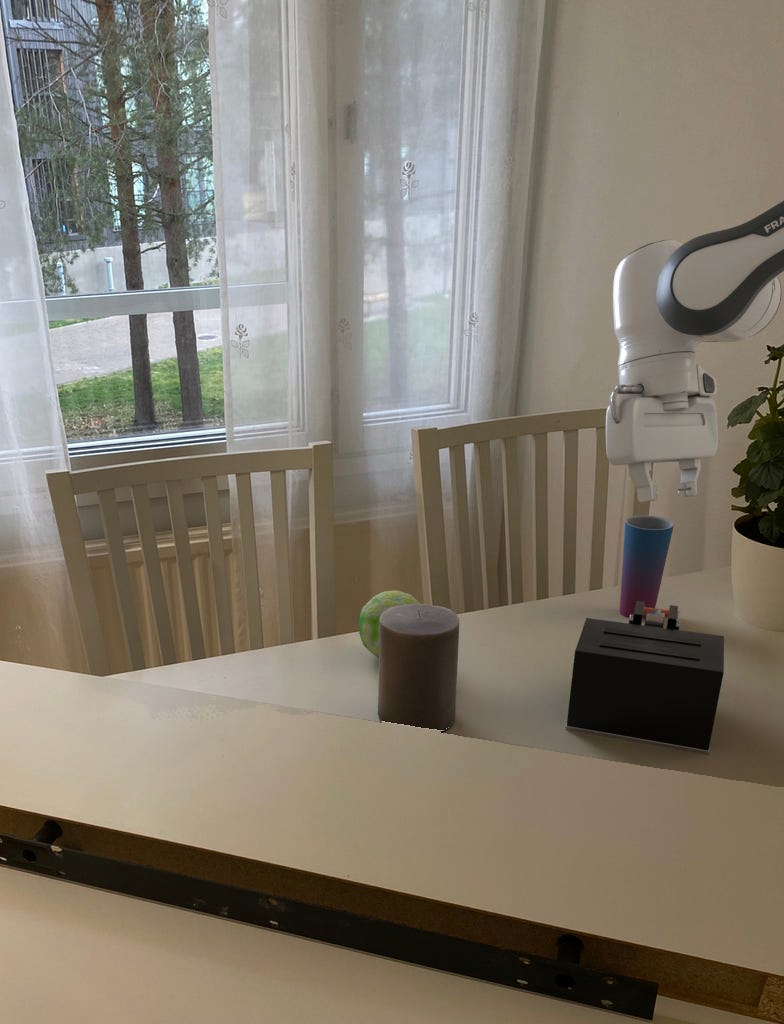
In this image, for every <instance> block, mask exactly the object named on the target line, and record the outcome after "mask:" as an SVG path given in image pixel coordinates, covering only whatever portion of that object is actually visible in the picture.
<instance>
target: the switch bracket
mask: <svg viewBox="0 0 784 1024" xmlns="http://www.w3.org/2000/svg"><path fill="white" fill-rule="evenodd" d="M644 606H645V602H642V601H637V603H636V607H635V611H634V615H633V614H630V618H628V623H629V624H637V625H643V620H642V619H643V613H644ZM668 610H669V614H668V618H667V622H666V627H665V628H667V629H674V630H680V628H681V621H682V620H678V619H677V613H678V611H679V605H672V604H669V608H668ZM678 614H679V613H678Z"/></svg>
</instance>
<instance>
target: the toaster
mask: <svg viewBox="0 0 784 1024" xmlns="http://www.w3.org/2000/svg"><path fill="white" fill-rule="evenodd" d="M644 625H645V624H644ZM644 625H643V624H642V625H637V624H629V622H620V621H613V620H604V619H598V618H592V617H591V618H590V617H586V618H585V620H584V623H583V626H582V629H581V631H580V635H579V638H578V641H577V644H576V646H575V650H574V658H573V665H572V675H571V683H570V690H569V691H570V692H569V701H568V709H567V717H566V724H565V726H564V727H565V728H564V730H566V731H569V732H570V731H572V732H576V733H583V734H587V735H594V736H599V737H604V738H609V739H617V740H621V741H628V742H633V743H638V744H645V745H650V746H656V747H661V748H667V749H673V750H677V751H683V752H690V753H696V754H700V755H707V756H708V755H710V748H711V747H710V746H711V741H712V736H713V731H714V730H713V729H714V724H715V719H716V714H717V711H718V705H719V699H720V695H721V694H720V693H721V688H722V683H723V679H724V674H725V673H724V672H725V636H724V635H720V634H712V633H706V632H705V633H704V632H696V631H689V630H681V629H679V630H674V629H667V628H666V627H663V628H659V627H652V626H644Z"/></svg>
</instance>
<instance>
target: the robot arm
mask: <svg viewBox="0 0 784 1024" xmlns="http://www.w3.org/2000/svg"><path fill="white" fill-rule="evenodd" d="M783 274H784V200H782V201H780V202H778V203H777V204H776V205H774V206H773V207H770V208H769V209H767V210H766V211H764V212H762V213H760V214H759V215H757V216H755V217H753V218H751V219H750V220H748V221H746V222H743V223H742V224H739V225H736V226H733V227H730V228H726V229H721V230H717V231H712V232H708V233H705V234H701V235H699V236H696V237H694V238H691V239H689V240H688V241H686V242H684V243H680V242H679V241H677V240H675V239H662V240H658V241H655V242H654V241H653V242H650V243H648V244H647V243H646V244H645V245H642V246H640V247H638V248H636V249H635V250H633V251H631V252H630V253H629V254H627V255H626V256H625V257H624V258H623V259H622V260H621V261H620V262H619V263H618V264H617V266H616V269H615V271H614V276H613V283H612V314H613V315H612V317H613V328H614V334H615V338H616V339H617V342H618V347H619V355H618V360H617V371H618V372H617V373H618V383H619V384H617V385H616V386H615V388H614V390H613V391H612V393H611V395H610V396H609V405H608V406H607V409H606V412H605V413H606V415H605V453H606V458H607V460H608V461H609V463H610V465H611V466H613V467H614V466H615V467H617V466H627V467H628V475H629V476H630V479H631V481H632V482H633V485H634V486H635V487H634V488H635V489H636V494H637V495H636V496H637V501H638V502H639V503H646V502H654V501H656V500H658V497H659V495H658V485H657V484H656V485H655V484H654V483H653V480H652V477H651V475H650V474H651V473H650V472H651V471H652V464H659V463H673V462H678V467H679V470H680V471H681V475H680V483H677V491H678V492H677V495H678V496H679V498H689V497H696V496H697V495H698V483H697V482H698V479H699V475H700V472H701V469H702V466H701V460H703V459H709V458H713V457H715V455H716V453H717V450H718V446H719V425H718V424H719V423H718V411H717V405H716V403H715V401H714V399H713V398H712V397H714V396H716V395H717V394H718V383H717V379H716V378H715V377H714V376H712V375H711V374H709V373H708V372H707V371H705V370H704V369H703V367H702V366H701V365H700V364H699V363H697V357H696V356H697V355H696V347H697V345H699V344H701V343H737V342H740V341H743V340H746V339H749V338H751V337H753V336H756V335H757V334H759V333H761V332H762V331H763V330H764V329H765V328H767V326H769V324H770V323H771V322H772V320H773V319H775V316H776V314H777V312H778V310H779V309H780V308H779V307H780V305H781V301H782V285H781V281H780V278H779V277H780V276H781V275H783Z"/></svg>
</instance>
